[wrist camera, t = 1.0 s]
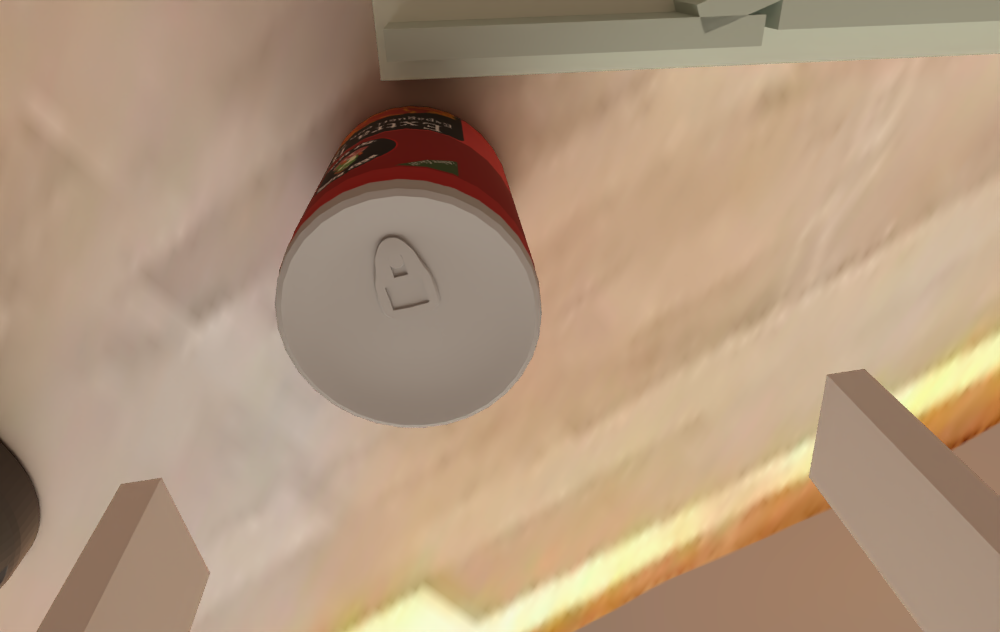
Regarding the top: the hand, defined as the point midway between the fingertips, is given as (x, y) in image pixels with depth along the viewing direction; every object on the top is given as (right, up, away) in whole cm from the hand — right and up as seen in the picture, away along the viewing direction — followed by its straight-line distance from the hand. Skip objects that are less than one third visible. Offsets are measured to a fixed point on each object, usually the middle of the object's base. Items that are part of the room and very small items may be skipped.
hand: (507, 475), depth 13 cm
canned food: (-4, +8, +15) cm, 18 cm away
